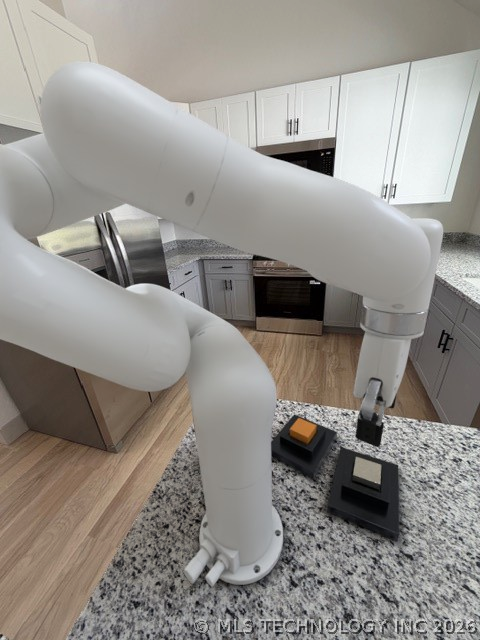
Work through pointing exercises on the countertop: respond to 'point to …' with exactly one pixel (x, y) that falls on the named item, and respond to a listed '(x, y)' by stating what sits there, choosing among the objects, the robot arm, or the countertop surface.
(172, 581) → the countertop surface
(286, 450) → the rear keypad
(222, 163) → the robot arm
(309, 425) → the amber key
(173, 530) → the countertop surface
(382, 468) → the front keypad
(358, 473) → the white key
